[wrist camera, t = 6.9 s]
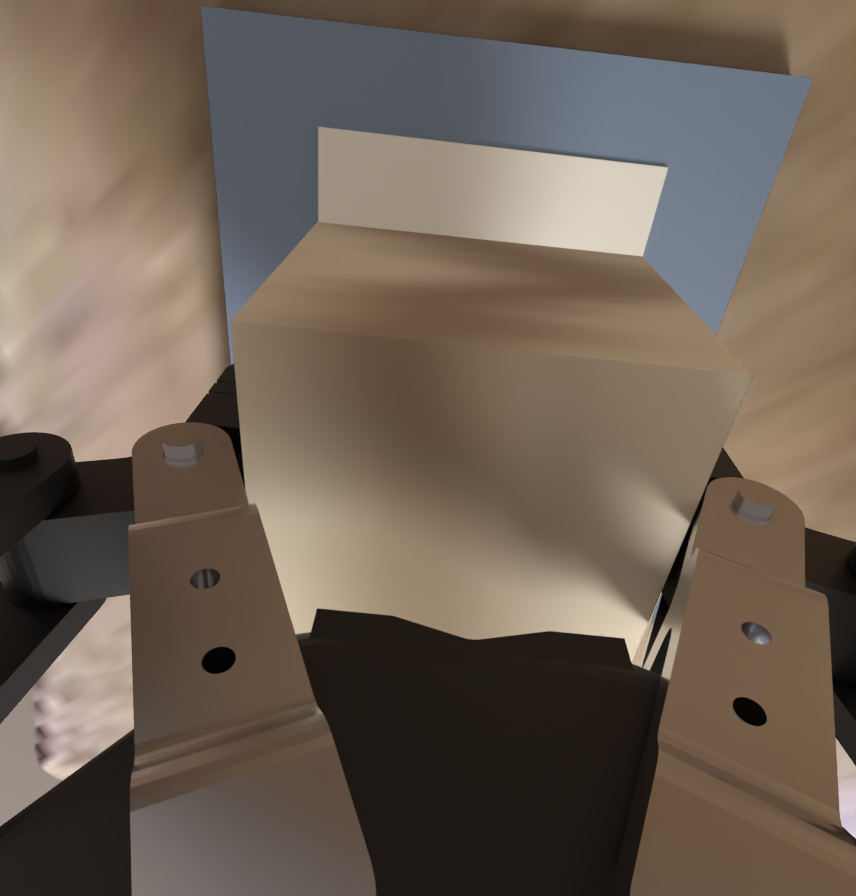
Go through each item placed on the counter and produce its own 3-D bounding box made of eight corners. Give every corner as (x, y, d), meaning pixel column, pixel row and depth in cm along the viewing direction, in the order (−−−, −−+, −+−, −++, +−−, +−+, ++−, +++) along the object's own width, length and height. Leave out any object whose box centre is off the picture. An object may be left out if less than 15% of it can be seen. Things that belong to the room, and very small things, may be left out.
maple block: (642, 256, 11) (753, 374, 7) (570, 510, 14) (616, 697, 10) (317, 222, 11) (230, 320, 7) (319, 485, 14) (260, 662, 10)
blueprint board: (792, 76, 14) (815, 77, 13) (551, 740, 28) (554, 764, 27) (216, 8, 14) (198, 5, 13) (268, 710, 28) (261, 733, 27)
